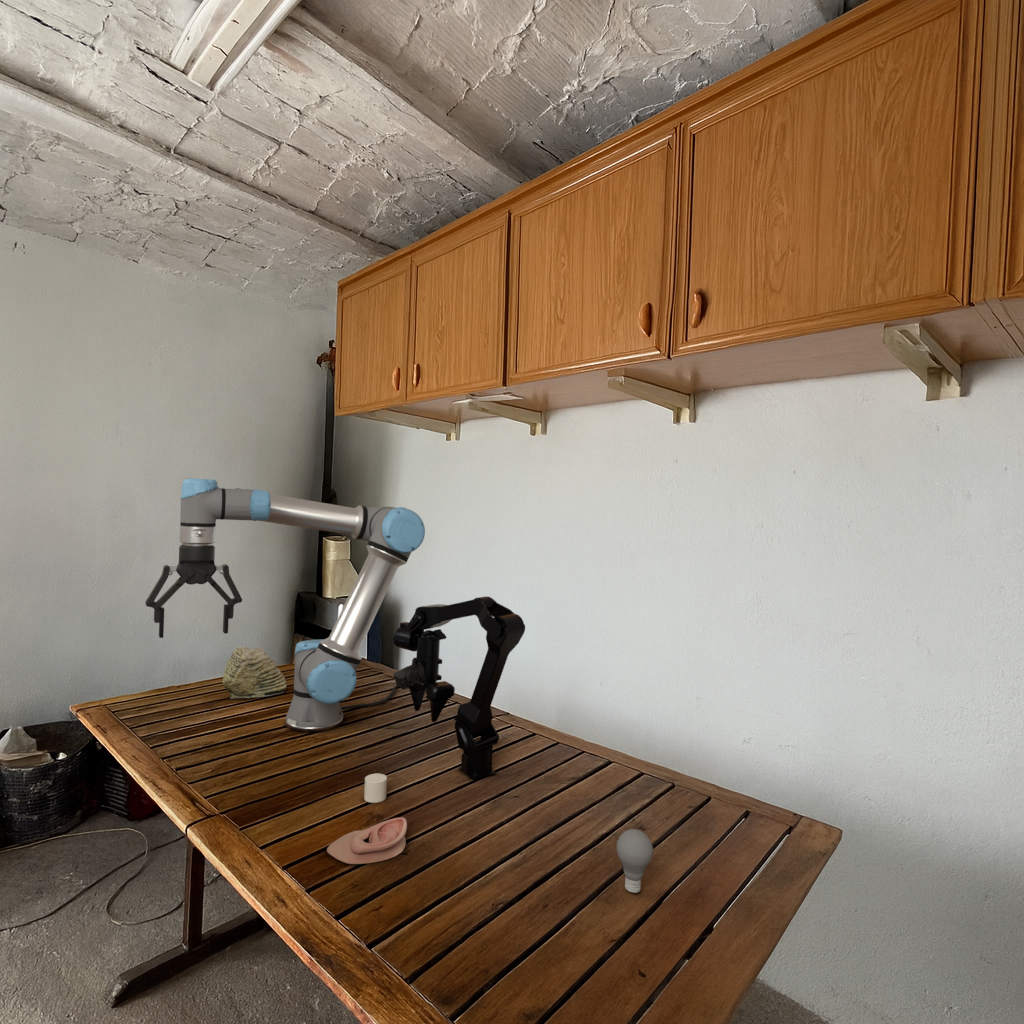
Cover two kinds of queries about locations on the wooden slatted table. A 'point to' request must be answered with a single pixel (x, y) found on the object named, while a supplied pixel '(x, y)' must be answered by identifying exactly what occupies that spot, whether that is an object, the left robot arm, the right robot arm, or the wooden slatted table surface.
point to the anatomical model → (371, 843)
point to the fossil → (252, 674)
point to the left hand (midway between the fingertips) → (194, 634)
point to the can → (375, 788)
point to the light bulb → (634, 857)
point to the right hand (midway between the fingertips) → (425, 716)
